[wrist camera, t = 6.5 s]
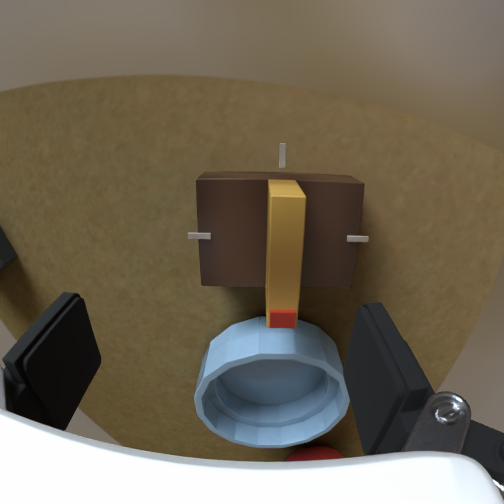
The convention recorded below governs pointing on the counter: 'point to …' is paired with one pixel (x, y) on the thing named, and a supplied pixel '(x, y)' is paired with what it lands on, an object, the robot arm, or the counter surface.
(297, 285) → the yellow block red tip
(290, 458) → the tomato
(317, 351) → the basin
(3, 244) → the button box
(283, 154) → the base
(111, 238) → the counter surface
